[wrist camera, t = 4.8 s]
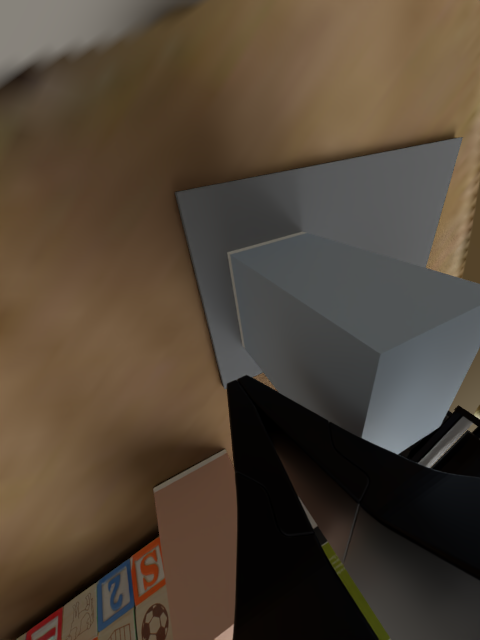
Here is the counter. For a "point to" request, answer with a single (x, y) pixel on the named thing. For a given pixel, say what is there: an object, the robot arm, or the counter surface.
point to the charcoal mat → (312, 222)
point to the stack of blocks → (116, 605)
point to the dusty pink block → (200, 548)
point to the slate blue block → (356, 334)
